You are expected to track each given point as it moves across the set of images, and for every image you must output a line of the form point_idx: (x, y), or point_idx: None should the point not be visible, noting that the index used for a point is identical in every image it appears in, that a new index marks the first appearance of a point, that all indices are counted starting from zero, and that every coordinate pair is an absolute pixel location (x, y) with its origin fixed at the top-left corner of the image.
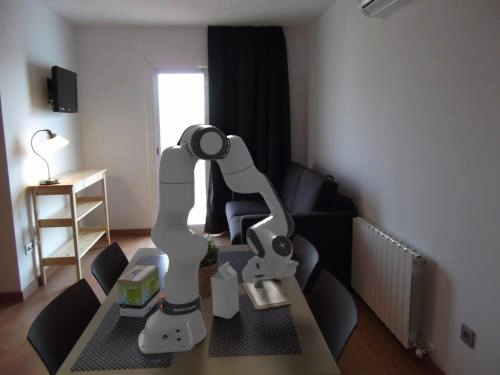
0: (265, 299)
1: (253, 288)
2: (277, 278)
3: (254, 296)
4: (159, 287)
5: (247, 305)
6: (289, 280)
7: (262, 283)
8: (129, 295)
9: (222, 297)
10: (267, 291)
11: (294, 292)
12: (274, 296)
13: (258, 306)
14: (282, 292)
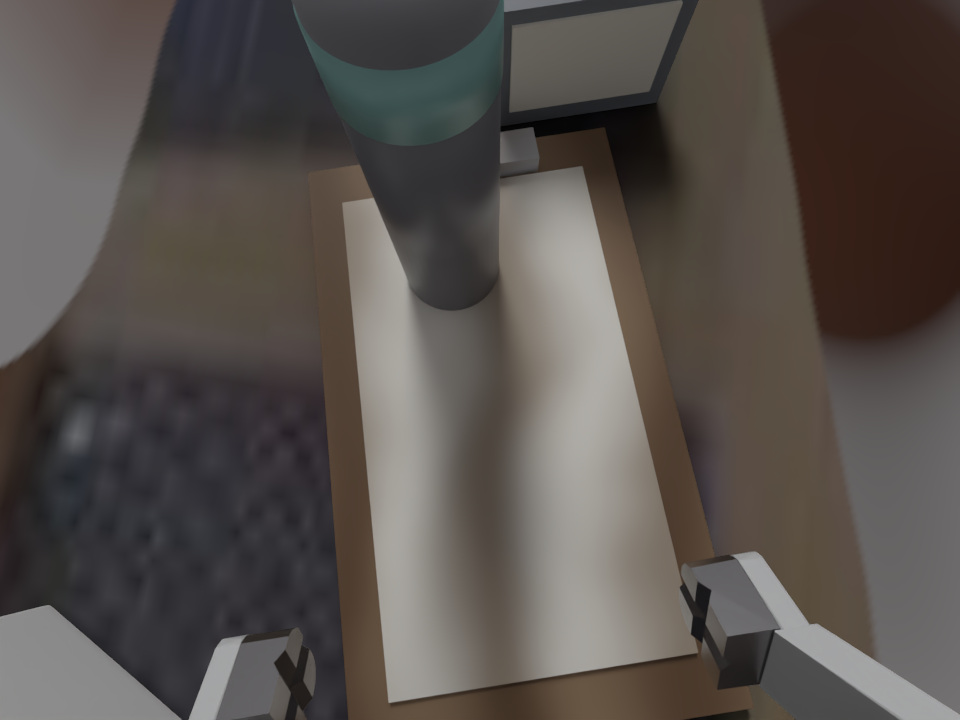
0: (482, 567)
1: (396, 305)
2: (721, 675)
3: (379, 478)
4: None
5: (290, 618)
6: (761, 173)
7: (488, 277)
8: None
9: None
10: (525, 391)
11: (796, 421)
12: (585, 516)
13: (388, 707)
14: (677, 429)
